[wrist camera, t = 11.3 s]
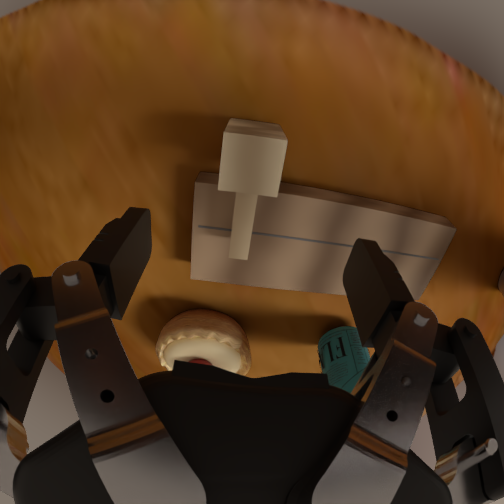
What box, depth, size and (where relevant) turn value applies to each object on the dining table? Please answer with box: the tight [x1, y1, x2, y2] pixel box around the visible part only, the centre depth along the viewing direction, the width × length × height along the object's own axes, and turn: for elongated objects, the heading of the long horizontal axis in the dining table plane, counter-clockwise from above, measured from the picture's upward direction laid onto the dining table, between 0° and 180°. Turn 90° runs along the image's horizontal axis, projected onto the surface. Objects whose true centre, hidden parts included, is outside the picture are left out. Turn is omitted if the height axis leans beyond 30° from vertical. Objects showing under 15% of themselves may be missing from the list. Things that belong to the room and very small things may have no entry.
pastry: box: [156, 309, 251, 376], centre depth 33 cm, size 12×12×9 cm
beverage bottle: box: [318, 326, 370, 393], centre depth 29 cm, size 6×7×20 cm
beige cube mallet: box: [218, 118, 288, 260], centre depth 22 cm, size 4×10×6 cm, turn 172°
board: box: [191, 172, 457, 300], centre depth 27 cm, size 26×10×2 cm, turn 82°
